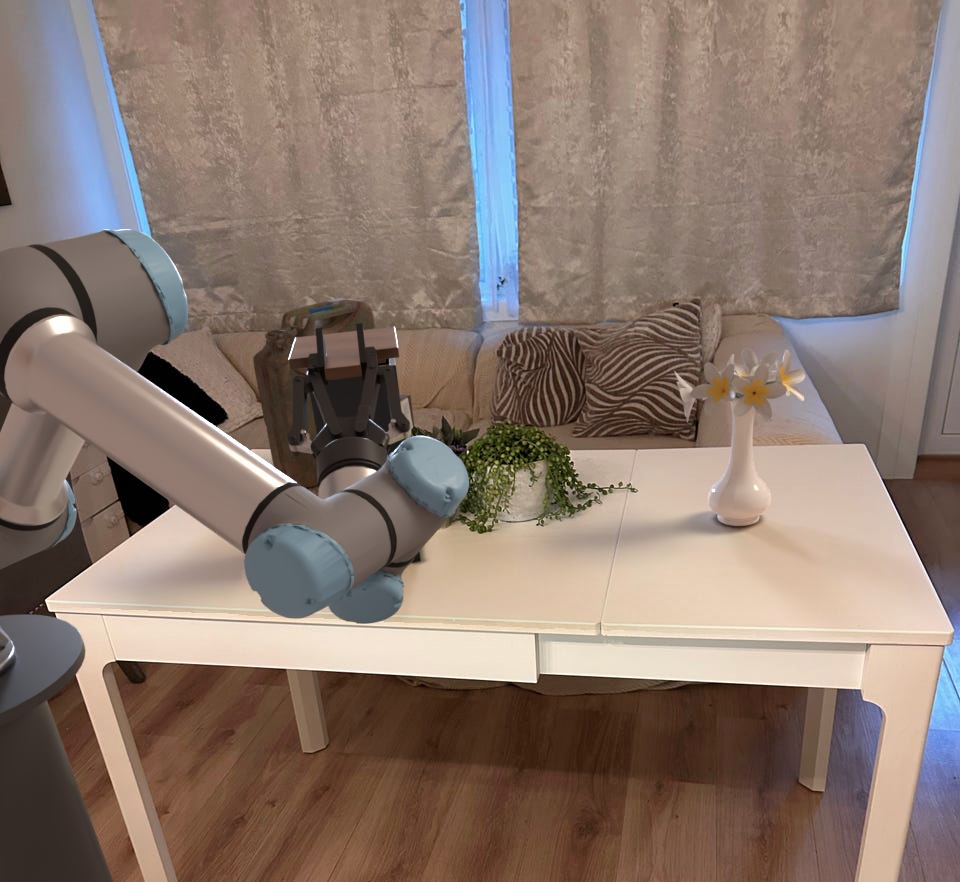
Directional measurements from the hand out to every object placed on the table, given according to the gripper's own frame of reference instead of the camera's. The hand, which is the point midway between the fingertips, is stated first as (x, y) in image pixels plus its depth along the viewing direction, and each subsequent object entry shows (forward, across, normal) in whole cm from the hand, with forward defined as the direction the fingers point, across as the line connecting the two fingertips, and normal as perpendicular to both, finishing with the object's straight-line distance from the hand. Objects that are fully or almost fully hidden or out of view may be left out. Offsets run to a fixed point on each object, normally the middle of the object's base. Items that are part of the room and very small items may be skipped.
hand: (340, 335), depth 111 cm
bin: (0, 0, -42) cm, 42 cm away
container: (+36, -8, -63) cm, 72 cm away
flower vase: (-5, +54, -39) cm, 67 cm away
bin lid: (0, 0, -5) cm, 5 cm away
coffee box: (+24, +3, -56) cm, 61 cm away
